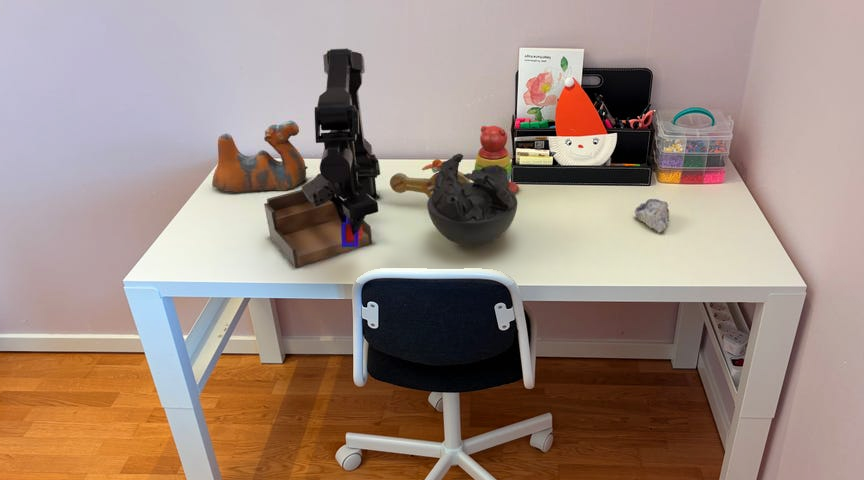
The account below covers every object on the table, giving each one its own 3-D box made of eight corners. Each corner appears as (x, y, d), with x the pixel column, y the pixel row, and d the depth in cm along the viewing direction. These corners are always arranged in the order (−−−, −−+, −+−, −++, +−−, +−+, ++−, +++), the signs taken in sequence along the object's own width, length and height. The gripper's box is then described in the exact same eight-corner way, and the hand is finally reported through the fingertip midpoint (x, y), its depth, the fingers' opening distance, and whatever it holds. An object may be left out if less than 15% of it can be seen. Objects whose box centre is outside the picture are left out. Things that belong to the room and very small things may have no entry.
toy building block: (362, 246, 156) (361, 208, 156) (358, 247, 152) (357, 208, 152) (345, 246, 157) (345, 209, 156) (341, 247, 152) (340, 208, 152)
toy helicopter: (466, 220, 175) (464, 167, 168) (386, 210, 181) (381, 159, 173) (475, 205, 182) (474, 154, 174) (398, 196, 187) (394, 146, 180)
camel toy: (207, 194, 191) (193, 131, 182) (228, 172, 202) (215, 112, 193) (299, 197, 188) (288, 134, 179) (315, 176, 199) (306, 115, 190)
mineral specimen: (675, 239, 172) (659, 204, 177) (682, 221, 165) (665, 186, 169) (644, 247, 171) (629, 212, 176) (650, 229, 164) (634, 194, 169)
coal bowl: (520, 262, 158) (521, 183, 148) (428, 264, 158) (423, 186, 148) (513, 218, 175) (514, 145, 165) (430, 221, 175) (426, 147, 165)
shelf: (343, 216, 178) (338, 179, 173) (372, 243, 167) (368, 204, 161) (270, 238, 170) (263, 199, 165) (295, 268, 159) (288, 227, 153)
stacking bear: (521, 189, 189) (523, 123, 179) (502, 204, 182) (502, 137, 172) (486, 180, 194) (485, 116, 184) (465, 195, 187) (463, 129, 177)
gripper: (286, 155, 149) (297, 222, 158) (322, 188, 136) (332, 259, 144) (336, 143, 154) (344, 208, 163) (375, 173, 141) (382, 243, 149)
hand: (349, 229), depth 155 cm, fingers closed on toy building block, 5 cm apart
